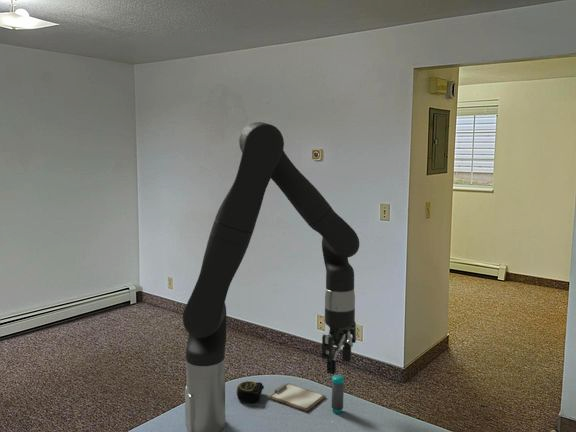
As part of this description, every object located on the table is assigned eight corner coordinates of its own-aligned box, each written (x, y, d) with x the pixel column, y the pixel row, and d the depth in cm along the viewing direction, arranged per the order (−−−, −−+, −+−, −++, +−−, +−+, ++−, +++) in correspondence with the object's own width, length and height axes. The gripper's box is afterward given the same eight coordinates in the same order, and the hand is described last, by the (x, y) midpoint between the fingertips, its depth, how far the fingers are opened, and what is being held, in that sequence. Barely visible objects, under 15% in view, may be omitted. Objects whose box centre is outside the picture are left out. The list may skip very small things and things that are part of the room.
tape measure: (259, 406, 131) (259, 393, 130) (233, 404, 132) (233, 391, 131) (264, 393, 138) (264, 381, 137) (239, 391, 139) (239, 379, 138)
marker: (334, 415, 126) (335, 381, 125) (329, 409, 129) (329, 376, 128) (345, 413, 128) (346, 379, 126) (339, 407, 130) (340, 374, 129)
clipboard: (268, 399, 134) (268, 393, 134) (288, 385, 142) (288, 380, 142) (307, 412, 128) (307, 406, 127) (325, 397, 135) (325, 392, 135)
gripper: (340, 316, 116) (339, 381, 119) (365, 300, 128) (364, 360, 130) (312, 310, 121) (312, 374, 123) (339, 296, 132) (338, 354, 135)
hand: (339, 366), depth 127 cm, fingers open, 8 cm apart
